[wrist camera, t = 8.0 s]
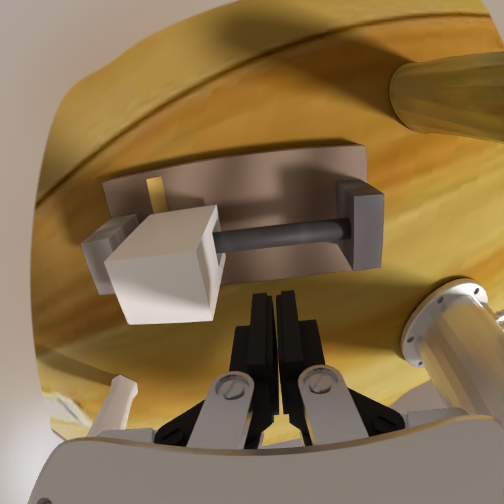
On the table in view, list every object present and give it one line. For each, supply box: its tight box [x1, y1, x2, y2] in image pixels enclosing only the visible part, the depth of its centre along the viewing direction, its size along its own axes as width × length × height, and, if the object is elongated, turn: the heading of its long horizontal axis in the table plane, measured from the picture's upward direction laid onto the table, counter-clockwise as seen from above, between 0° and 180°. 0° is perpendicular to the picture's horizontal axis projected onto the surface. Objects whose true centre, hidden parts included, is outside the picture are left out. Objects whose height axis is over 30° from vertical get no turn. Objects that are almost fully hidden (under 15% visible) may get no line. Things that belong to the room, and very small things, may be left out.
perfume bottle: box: [87, 375, 138, 437], centre depth 26 cm, size 5×4×15 cm
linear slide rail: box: [80, 144, 384, 295], centre depth 20 cm, size 20×10×6 cm, turn 97°
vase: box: [389, 51, 504, 144], centre depth 12 cm, size 6×6×14 cm
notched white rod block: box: [104, 205, 226, 324], centre depth 17 cm, size 5×4×8 cm
